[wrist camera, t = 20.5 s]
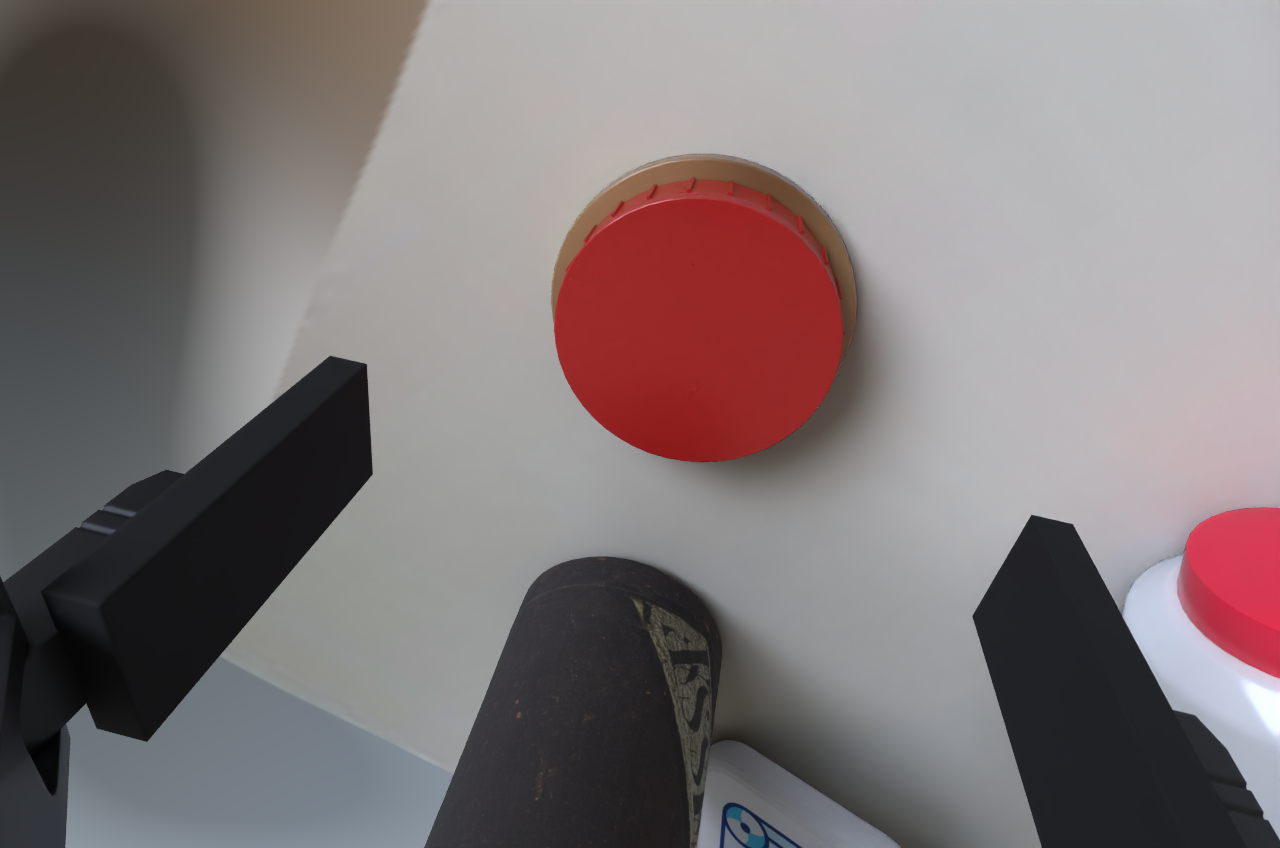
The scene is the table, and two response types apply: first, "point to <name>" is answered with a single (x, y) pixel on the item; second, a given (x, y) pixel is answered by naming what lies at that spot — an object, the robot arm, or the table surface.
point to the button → (773, 808)
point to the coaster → (724, 171)
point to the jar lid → (700, 321)
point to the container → (592, 718)
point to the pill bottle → (1221, 639)
